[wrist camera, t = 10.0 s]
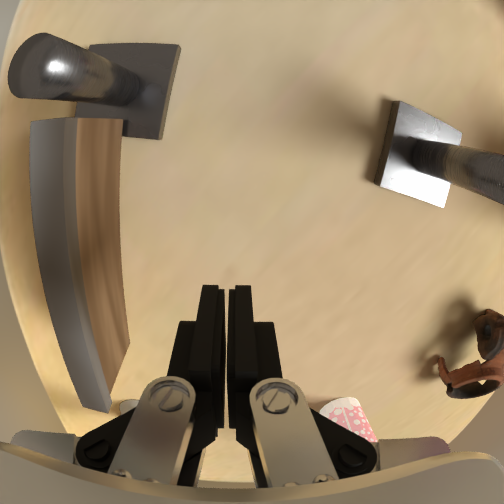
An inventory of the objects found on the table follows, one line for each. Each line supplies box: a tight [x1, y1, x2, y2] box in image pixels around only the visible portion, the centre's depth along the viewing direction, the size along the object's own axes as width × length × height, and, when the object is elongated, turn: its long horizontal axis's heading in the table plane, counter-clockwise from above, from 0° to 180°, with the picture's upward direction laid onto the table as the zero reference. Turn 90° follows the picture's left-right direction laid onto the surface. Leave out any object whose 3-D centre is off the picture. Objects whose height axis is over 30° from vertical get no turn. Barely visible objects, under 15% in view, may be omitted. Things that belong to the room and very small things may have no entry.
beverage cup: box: [319, 397, 378, 442], centre depth 21 cm, size 6×6×14 cm
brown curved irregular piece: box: [438, 309, 504, 399], centre depth 23 cm, size 12×10×8 cm
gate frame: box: [8, 33, 504, 208], centre depth 12 cm, size 6×26×10 cm, turn 78°
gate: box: [30, 117, 130, 413], centre depth 14 cm, size 2×16×7 cm, turn 173°
